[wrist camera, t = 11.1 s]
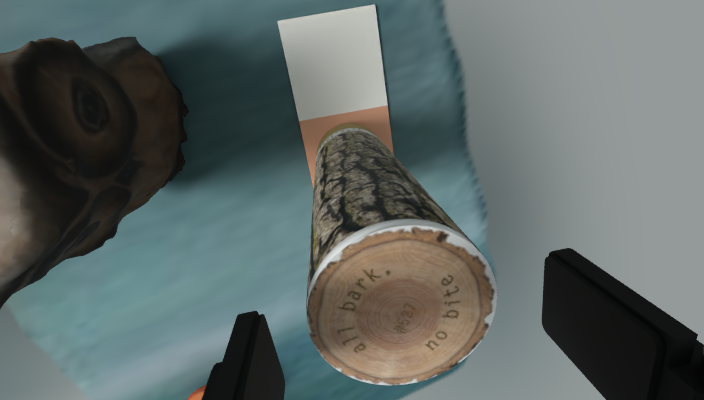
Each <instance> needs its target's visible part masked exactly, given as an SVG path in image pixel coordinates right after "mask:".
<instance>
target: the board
mask: <svg viewBox="0 0 704 400" xmlns="http://www.w3.org/2000/svg"><path fill="white" fill-rule="evenodd" d="M277 22H278V26H279V31H280V36H281V40H282V45H283V50H284V54H285V59H286V63H287V68H288V73H289V77H290V82H291V87H292V91H293V96H294V100H295V105H296V110H297V114H298V119H299V124H300V128H301V133H302V137H303V142H304V147H305V151H306V156H307V161H308V165H309V170H310V175H311V179H312V184H313V188H314V180H315V164H316V153H317V148H318V145H319V142H320V140H321V139H322V137H323V136H324V135H325V134H326V133H327V132H328V131H329V130H330V129H332V128H334V127H336V126H338V125H341V124H346V123H354V124H359V125H362V126H364V127H366V128H368V129H369V130H371V131H372V132H373V133H374V134H375V135H376V136H377V137H378V138H379V139H380V141H381V142H382V143H383V144H384V145H385V146H386V147H387V148H388V149H389V151H390V152H391V153H392V154H393V155H394V153H393V145H392V137H391V129H390V120H389V112H388V104H387V96H386V88H385V80H384V72H383V64H382V56H381V48H380V40H379V32H378V24H377V16H376V8H375V5H369V6H363V7H357V8H351V9H345V10H339V11H334V12H328V13H322V14H316V15H310V16H304V17H298V18H293V19H287V20H281V21H277Z"/></svg>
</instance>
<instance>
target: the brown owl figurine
mask: <svg viewBox="0 0 704 400" xmlns="http://www.w3.org/2000/svg"><path fill="white" fill-rule="evenodd" d="M188 112H189V111H188V108H187V106H186V105H185V104H184V101H183V98H182V94H181V92H180V90H179V89H178V88H177V87H176V86H175V85H174V84H173V83H172V81H171V80H170V78H169V76H168V75H167V73H166V71H165V69H164V67H163V65H162V62H161V59H160V58H159V57H157V56H153V55H152V54H151V53H150V52H148V51H147V50H146V49H145V48H143V47H142V46H141V45H140V44H139V43H138V41H137V40H136V37H121V38H117V39H113V40H111V41H109V42H106V43H101V44H95V45H93V46H88V47H85V48H82V49H81V48H80V47H79V46H78V45H77V44H76V43H75V42H74V41H73V40H69V41H67V42H66V41H64V40H61V39H58V38H47V39H38V40H37V41H36V42H35V41H30V42H28V43H27V44H25V45H24V46H23V47H21V48H20V49H17V50H14V51H11V52H8V53H1V54H0V309H1V307H2V306H3V304H4V303H5V302H6V301H7V300H8V298H9V297H10V296H11V295H12V294H14V293H15V292H17V291H19V290H21V289H22V288H24V287H26V286H28V285H30V284H32V283H34V282H36V281H38V280H40V279H41V278H43V277H44V276H45V275H46V274H47V272H48V271H49V270H50V269H52V268H53V267H55V266H56V265H58V264H59V263H61V262H62V261H64V260H65V259H69V258H73V257H78V256H84V255H86V254H88V253H90V252H92V251H94V250H96V249H98V248H100V247H102V246H103V244H104V242H105V241H106V240H108V239H111V238H113V237H114V236H115V234H116V232H117V228H118V224H119V222H120V221H121V220H122V218H123V217H124V216H126V215H128V214H129V213H131V212H133V211H134V210H136V209H138V208H139V207H141V206H142V205H144V204H145V203H147V202H148V201H149V200H150V198H151V197H152V196H153V195H154V194H155V193H156V192H157V191H158V190H159V189H160V188H163V187H164V186H165V185H166V184H167V182H168V181H171V180H172V179H173V177H174V176H175V175H176V174H177V173H178V172H179V171H181V170H182V168H183V166H184V164H185V160H184V156H183V154H182V152H181V146H180V144H181V143H182V142H184V141H186V140H187V136H186V133H185V131H184V128H183V118H182V116H184V117H185V116H186V115H187V113H188Z"/></svg>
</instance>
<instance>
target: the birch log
mask: <svg viewBox="0 0 704 400" xmlns="http://www.w3.org/2000/svg"><path fill="white" fill-rule="evenodd" d="M496 303H497V289H496V283H495V278H494V275H493V273H492V270H491V268H490V266H489V264H488V262H487V261H486V259H485V258H484V257H483V255H482V254H481V253H480V251H479V250H478V249H477V247H476V246H475V245H474V244H473V243H472V242H471V240H470V239H469V238H468V237H467V236H466V235H465V234H464V233H463V232H462V230H461V229H460V228H459V227H458V226H457V225H456V224H455V223H454V222H453V220H452V219H451V218H450V217H449V216H448V215H447V214H446V213H445V212H444V210H443V209H442V208H441V207H440V206H439V205H438V204H437V203H436V202H435V200H434V199H433V198H432V197H431V196H430V195H429V194H428V193H427V192H426V190H425V189H424V188H423V187H422V186H421V185H420V184H419V183H418V182H417V180H416V179H415V178H414V177H413V176H412V175H411V174H410V173H409V172H408V170H407V169H406V168H405V167H404V166H403V165H402V164H401V163H400V162H399V161H398V159H397V158H396V157H395V156H394V155H393V154H392V153H391V152H390V151H389V149H388V148H387V147H386V146H385V145H384V144H383V143H382V142H381V141H380V139H379V138H378V137H377V136H376V135H375V134H374V133H373V132H372V131H371V130H369V129H368V128H366V127H364V126H362V125H359V124H354V123H346V124H341V125H338V126H336V127H334V128H332V129H330V130H329V131H328V132H327V133H326V134H325V135H324V136H323V137H322V139H321V140H320V142H319V145H318V148H317V153H316V164H315V180H314V195H313V210H312V226H311V241H310V257H309V272H308V287H307V306H306V308H307V325H308V329H309V334H310V336H311V339H312V341H313V343H314V345H315V347H316V349H317V350H318V352H319V353H320V355H321V356H322V357H323V358H324V359H325V360H326V361H327V362H328V363H329V364H330V365H331V366H332V367H334V368H335V369H337V370H338V371H340V372H341V373H343V374H345V375H347V376H349V377H351V378H354V379H357V380H359V381H363V382H367V383H371V384H378V385H403V384H410V383H415V382H419V381H423V380H426V379H429V378H432V377H435V376H437V375H439V374H441V373H443V372H445V371H447V370H449V369H451V368H452V367H454V366H455V365H457V364H458V363H460V362H461V361H462V360H464V359H465V358H466V357H467V356H468V355H469V354H470V353H471V352H472V351H473V350H474V349H475V348H476V347H477V345H478V344H479V343H480V342H481V341H482V339H483V338H484V336H485V334H486V333H487V331H488V329H489V327H490V325H491V323H492V320H493V317H494V313H495V310H496Z"/></svg>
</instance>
